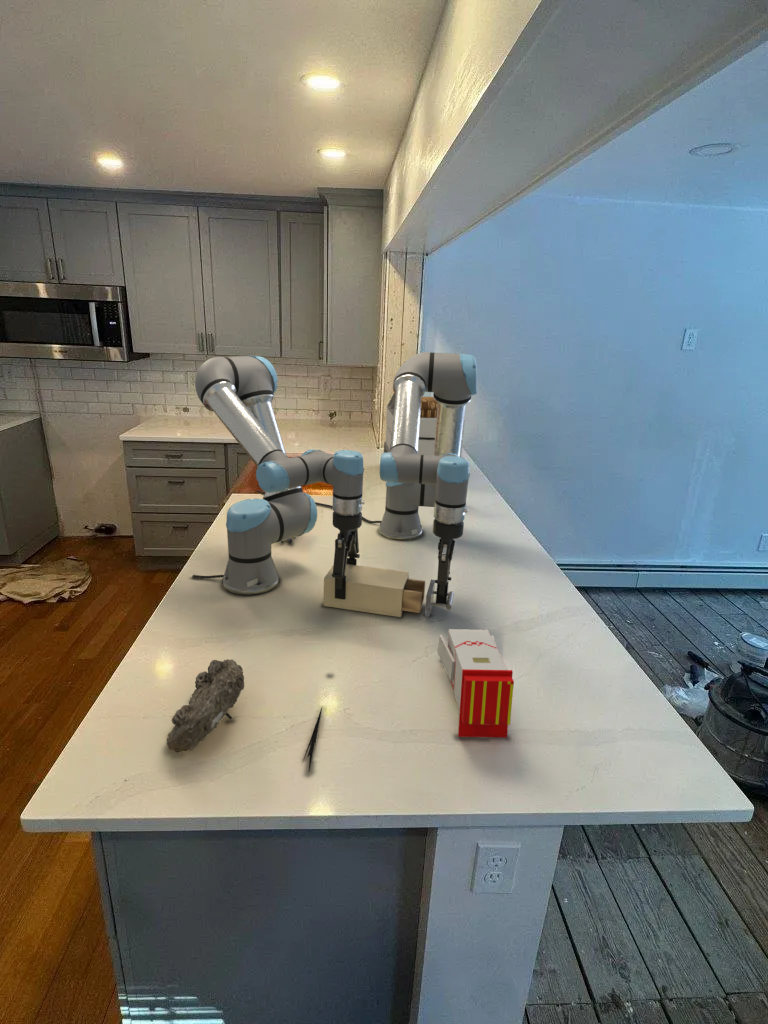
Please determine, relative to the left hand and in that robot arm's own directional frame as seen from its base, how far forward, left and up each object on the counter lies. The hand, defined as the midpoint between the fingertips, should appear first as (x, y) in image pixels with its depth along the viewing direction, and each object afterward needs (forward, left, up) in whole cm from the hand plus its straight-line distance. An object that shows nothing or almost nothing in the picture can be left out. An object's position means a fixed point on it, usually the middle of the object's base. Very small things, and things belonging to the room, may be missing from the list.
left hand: (345, 589), depth 152 cm
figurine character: (-32, +34, -3) cm, 47 cm away
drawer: (+16, +1, -2) cm, 16 cm away
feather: (+11, -47, -3) cm, 48 cm away
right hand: (+26, +2, -1) cm, 26 cm away
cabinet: (+6, 0, -3) cm, 7 cm away
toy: (+37, -29, -3) cm, 47 cm away
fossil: (-9, -52, -3) cm, 53 cm away
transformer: (-7, +131, -3) cm, 132 cm away
